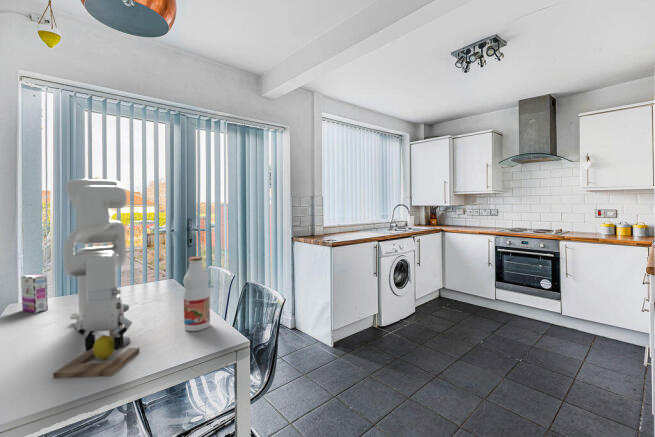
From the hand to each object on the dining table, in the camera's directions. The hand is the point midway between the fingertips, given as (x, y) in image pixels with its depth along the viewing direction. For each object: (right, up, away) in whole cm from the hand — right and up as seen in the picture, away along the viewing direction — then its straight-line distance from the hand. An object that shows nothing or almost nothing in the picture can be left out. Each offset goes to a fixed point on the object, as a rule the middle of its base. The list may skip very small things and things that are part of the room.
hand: (104, 348), depth 95 cm
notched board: (0, -4, -2) cm, 5 cm away
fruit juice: (+19, -2, +25) cm, 31 cm away
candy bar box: (-66, -2, +45) cm, 80 cm away
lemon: (0, -4, 0) cm, 4 cm away
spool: (-4, -3, +10) cm, 12 cm away
